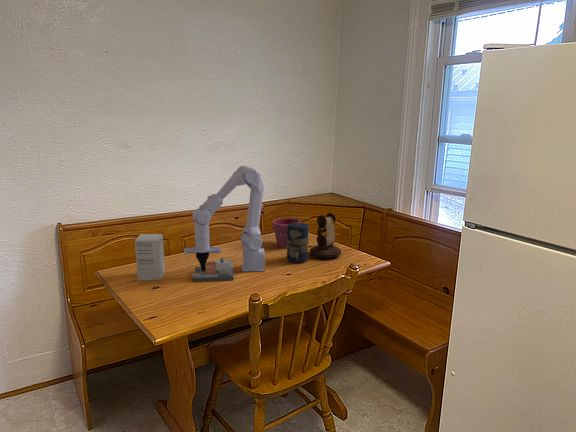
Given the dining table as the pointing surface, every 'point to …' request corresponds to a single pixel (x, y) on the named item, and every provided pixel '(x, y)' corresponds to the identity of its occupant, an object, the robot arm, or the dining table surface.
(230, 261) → the press bed
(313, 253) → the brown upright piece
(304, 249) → the canister
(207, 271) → the tall terracotta prism
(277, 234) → the plant pot
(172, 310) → the dining table surface
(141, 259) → the supplement box
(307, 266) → the dining table surface
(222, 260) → the housing
